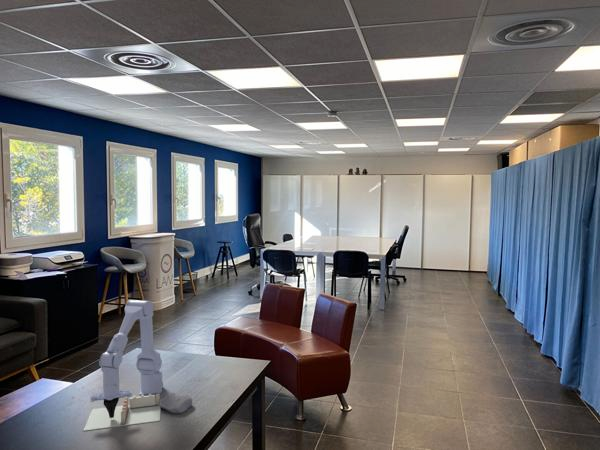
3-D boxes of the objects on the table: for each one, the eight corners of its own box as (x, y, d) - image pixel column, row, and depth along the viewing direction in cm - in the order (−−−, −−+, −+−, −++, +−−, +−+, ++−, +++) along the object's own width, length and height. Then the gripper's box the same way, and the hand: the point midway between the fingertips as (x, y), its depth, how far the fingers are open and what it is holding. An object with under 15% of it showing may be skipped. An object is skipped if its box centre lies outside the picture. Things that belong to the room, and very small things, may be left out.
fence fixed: (160, 404, 179) (159, 392, 179) (159, 406, 178) (159, 394, 177) (124, 408, 175) (124, 396, 175) (124, 410, 174) (124, 398, 174)
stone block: (180, 419, 170) (194, 403, 179) (179, 408, 169) (193, 393, 178) (156, 414, 174) (170, 399, 183) (154, 404, 173) (169, 389, 182)
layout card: (161, 401, 182) (161, 400, 182) (159, 421, 166) (159, 420, 166) (92, 409, 174) (92, 408, 174) (83, 431, 158) (83, 430, 158)
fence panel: (124, 409, 173) (124, 398, 173) (128, 409, 174) (127, 398, 173) (120, 424, 162) (120, 412, 162) (124, 423, 162) (124, 411, 162)
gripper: (88, 389, 159) (89, 424, 160) (130, 384, 163) (130, 419, 164) (92, 381, 166) (93, 415, 167) (131, 377, 170) (132, 410, 171)
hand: (111, 416), depth 166 cm, fingers closed
